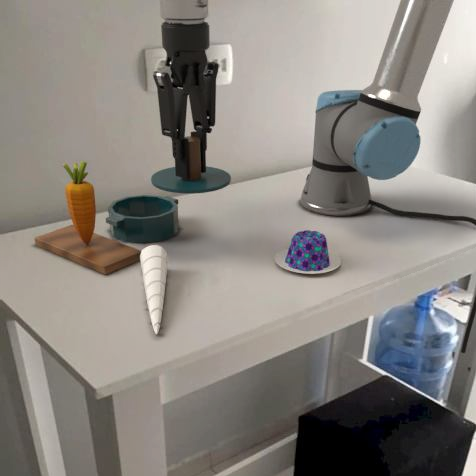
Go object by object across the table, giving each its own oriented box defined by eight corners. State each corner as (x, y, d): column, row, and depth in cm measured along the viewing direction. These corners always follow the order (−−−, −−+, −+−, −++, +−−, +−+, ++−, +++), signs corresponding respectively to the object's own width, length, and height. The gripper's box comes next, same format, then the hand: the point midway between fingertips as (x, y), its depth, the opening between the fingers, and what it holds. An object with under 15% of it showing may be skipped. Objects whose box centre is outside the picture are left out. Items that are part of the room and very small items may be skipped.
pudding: (295, 282, 108) (297, 253, 105) (263, 256, 117) (264, 229, 114) (353, 270, 113) (357, 242, 109) (318, 246, 121) (320, 219, 118)
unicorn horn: (131, 337, 93) (128, 308, 90) (141, 269, 112) (139, 243, 109) (163, 337, 93) (161, 308, 90) (168, 269, 112) (167, 243, 109)
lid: (247, 179, 114) (247, 137, 110) (194, 199, 105) (192, 155, 101) (188, 164, 121) (187, 124, 117) (134, 182, 112) (130, 140, 108)
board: (143, 258, 116) (142, 251, 115) (105, 274, 110) (104, 266, 109) (73, 231, 126) (72, 224, 125) (35, 245, 120) (34, 237, 119)
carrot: (67, 246, 116) (54, 162, 107) (85, 237, 120) (73, 155, 111) (89, 251, 114) (77, 166, 105) (106, 242, 118) (96, 159, 109)
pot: (197, 226, 129) (196, 202, 126) (137, 251, 118) (135, 226, 116) (151, 211, 136) (149, 188, 133) (91, 233, 125) (87, 209, 122)
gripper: (165, 27, 91) (174, 190, 105) (237, 18, 102) (236, 167, 116) (129, 23, 95) (142, 181, 109) (202, 15, 105) (205, 159, 119)
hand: (190, 173), depth 112 cm, fingers closed on lid, 4 cm apart
